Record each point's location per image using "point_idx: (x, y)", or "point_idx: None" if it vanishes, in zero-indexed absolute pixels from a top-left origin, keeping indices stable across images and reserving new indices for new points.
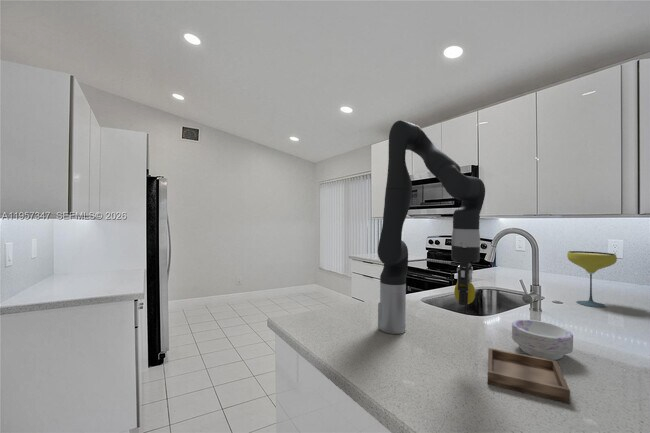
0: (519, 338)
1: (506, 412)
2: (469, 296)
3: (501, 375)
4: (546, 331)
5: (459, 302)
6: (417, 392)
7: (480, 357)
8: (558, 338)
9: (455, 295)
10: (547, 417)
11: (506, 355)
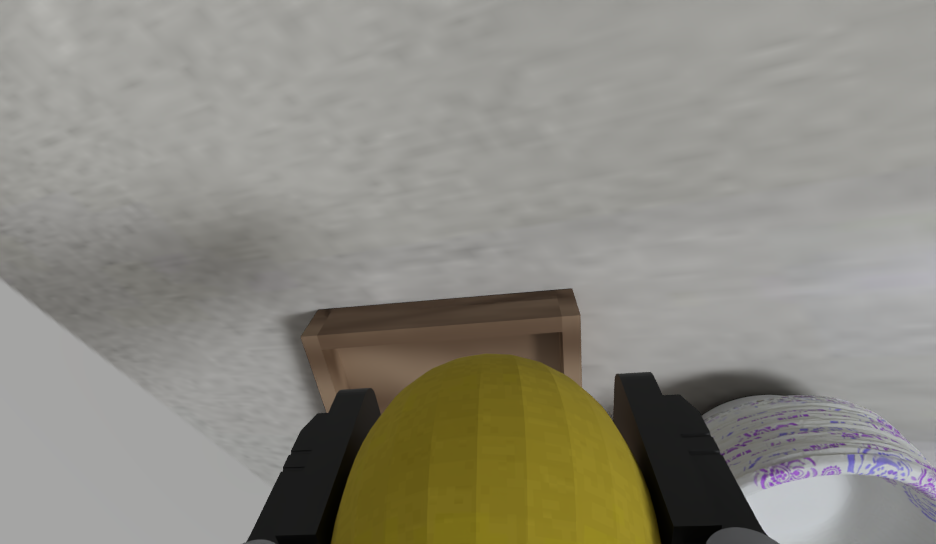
0: (717, 444)
1: (189, 365)
2: None
3: (315, 375)
4: (872, 534)
5: (335, 404)
6: (22, 98)
7: (560, 258)
8: None
9: (404, 398)
10: (255, 440)
11: (562, 372)
